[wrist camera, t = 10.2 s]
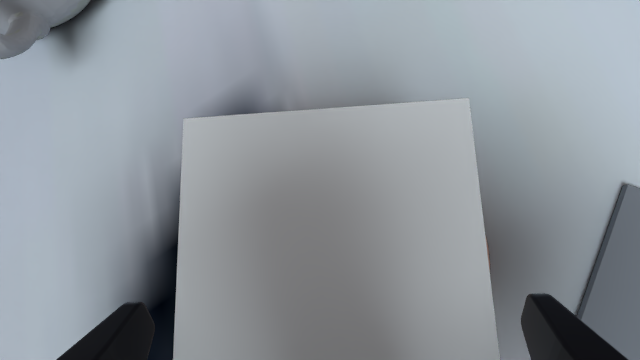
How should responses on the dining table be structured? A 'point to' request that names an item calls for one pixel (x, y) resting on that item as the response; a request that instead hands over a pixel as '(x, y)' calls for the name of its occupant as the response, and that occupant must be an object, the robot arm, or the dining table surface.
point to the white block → (333, 236)
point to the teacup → (32, 21)
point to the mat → (617, 279)
